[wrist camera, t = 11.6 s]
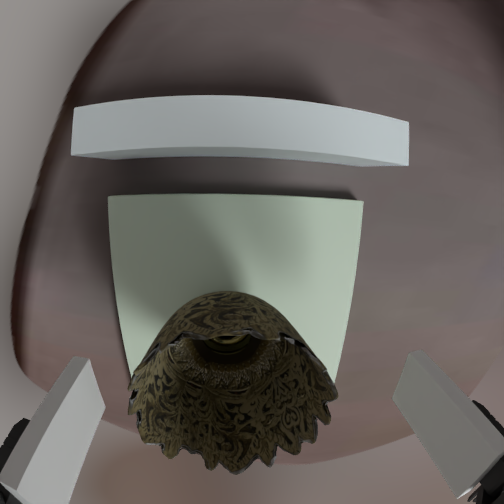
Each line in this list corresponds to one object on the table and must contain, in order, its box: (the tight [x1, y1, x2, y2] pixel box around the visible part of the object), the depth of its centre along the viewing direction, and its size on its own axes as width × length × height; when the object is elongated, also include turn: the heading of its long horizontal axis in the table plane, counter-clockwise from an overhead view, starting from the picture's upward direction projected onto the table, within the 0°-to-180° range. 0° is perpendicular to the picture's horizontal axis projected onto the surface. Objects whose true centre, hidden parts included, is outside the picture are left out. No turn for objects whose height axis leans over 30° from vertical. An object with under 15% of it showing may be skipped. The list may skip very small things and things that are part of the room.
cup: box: [128, 291, 338, 475], centre depth 12 cm, size 8×7×8 cm
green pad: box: [108, 193, 363, 383], centre depth 17 cm, size 14×14×1 cm
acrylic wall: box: [71, 95, 409, 167], centre depth 12 cm, size 14×2×5 cm, turn 88°
